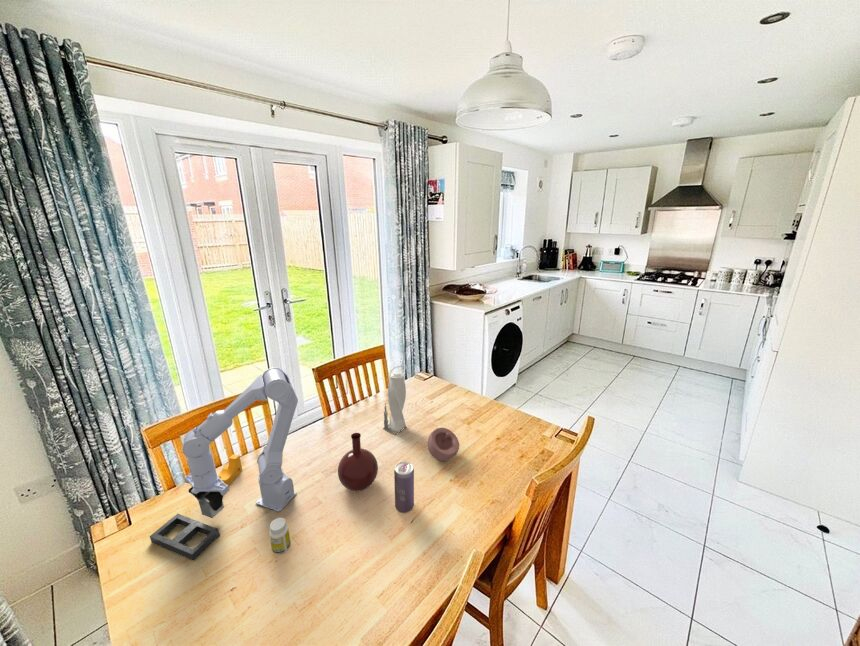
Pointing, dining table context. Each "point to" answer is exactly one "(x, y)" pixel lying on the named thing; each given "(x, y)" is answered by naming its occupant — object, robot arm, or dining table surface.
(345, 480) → the round-bottom flask
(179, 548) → the dark grey flat frame
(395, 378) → the skyscraper
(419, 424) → the dining table surface
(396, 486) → the beverage can
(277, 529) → the supplement bottle
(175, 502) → the dining table surface
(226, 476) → the pipe clamp
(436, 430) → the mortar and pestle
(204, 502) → the block
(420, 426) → the dining table surface
